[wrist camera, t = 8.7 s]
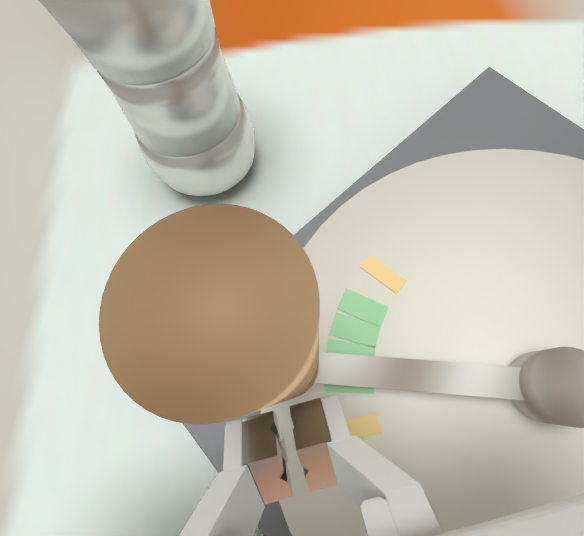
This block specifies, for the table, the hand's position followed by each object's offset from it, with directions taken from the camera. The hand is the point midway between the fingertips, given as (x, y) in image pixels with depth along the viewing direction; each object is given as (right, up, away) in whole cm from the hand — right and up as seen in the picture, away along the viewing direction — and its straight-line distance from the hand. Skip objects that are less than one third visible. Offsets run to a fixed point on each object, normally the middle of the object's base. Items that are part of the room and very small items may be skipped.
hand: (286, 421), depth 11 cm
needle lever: (+6, 0, +6) cm, 9 cm away
